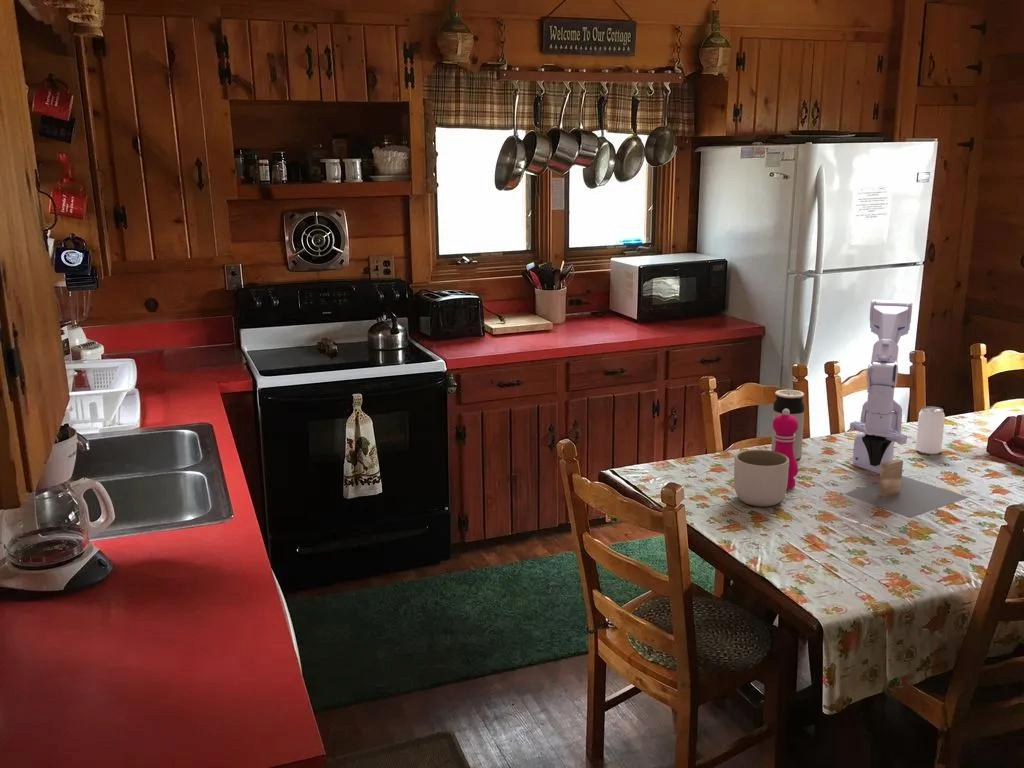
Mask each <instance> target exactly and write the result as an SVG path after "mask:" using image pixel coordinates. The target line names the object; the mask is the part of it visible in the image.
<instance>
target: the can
mask: <svg viewBox="0 0 1024 768" xmlns="http://www.w3.org/2000/svg"><path fill="white" fill-rule="evenodd" d="M944 411H945V410H944V409H943V408H942V407H937V406H922V407H921V408H920V411H919V413H918V417H917V419H918V421H917V428H916V440H915V441H916V442H915V450H916V451H917V452H918V451H919V453H920V454H924V453H926V454H925V455H938V454H940V453H941V452H942V450H943V449H942V448H943V440H944V427H945V419H946V417H945V416H946V415H945V413H944Z"/></svg>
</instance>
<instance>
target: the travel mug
mask: <svg viewBox="0 0 1024 768" xmlns="http://www.w3.org/2000/svg"><path fill="white" fill-rule="evenodd" d="M774 394H775V397H776V399H775V401H774V402H773V407H772V408H773V410H772V411H773V412H772V413H773V414H772V422H773V421H774V419H775V418H776V417H777V416H778V415H781V414H783V413H782V411H783V410H784V409H788V410H789V411H790V414H789V415H792V416H793V417H795V418H796V420H797V422H798V429H797V431H796V432H795V433H794V434H795V441H793V452H794V456H795V459H796V460H799V459H801V457H802V453H803V452H802V451H803V438H804V437H803V436H804V419H805V404H804V401H803V399H804V396H805V393H804V392H803V391H800V390H796V389H779V390H778V389H777V390H776V391H775V392H774ZM771 428H772V431H771V448H770V451H774V450H775V446H776V440H775V439H774V437H775V435H774V433H776V432H775V430H774V429H773V426H772V427H771Z"/></svg>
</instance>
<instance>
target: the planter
mask: <svg viewBox="0 0 1024 768" xmlns="http://www.w3.org/2000/svg"><path fill="white" fill-rule="evenodd" d="M733 463H734V466H733V468H734V469H733V470H734V471H733V485H734V490H735V494H736V496H737V498H738V499H739V500H740V501H742V502H743V503H745V504H746V505H749V506H753V507H762V508H763V507H765V508H766V507H772V506H776V505H777V504H779V503H780V502H782V501H783V500H784V497H785V495H786V494H787V489H788V488H787V483H788V469H789V458H788V457H787V456H786V455H784V454H781V453H779V452H775V451H771V449H770V450H768V449H759V448H758V449H746V450H745V449H744V450H741V451H739V452H736V454H734V462H733Z"/></svg>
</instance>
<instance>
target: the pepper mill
mask: <svg viewBox="0 0 1024 768" xmlns="http://www.w3.org/2000/svg"><path fill="white" fill-rule="evenodd" d="M782 413H783V414H781V415H778V416H777V417H776V418H775V419H774V421H773V420H772V427H773V429H774V430H775V432H776V433H774V435H775V437H774V439H775V440H776V446H775V450H774V451H775V452H779V453H781V454H784V455H786V456H787V457H788V458H789V469H788V483H787V489H791V488H794V487H795V486H796V479H795V477H796V476H797V475H798V474H799V465H798V461H797V459H795V456H794V452H793V441H795V434H794V433H795V432H796V431H797V429H798V422H797V420H796V418H795V417H793V416H792V415H789V414H790V411H789V410H788V409H784V410H783V411H782Z"/></svg>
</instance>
